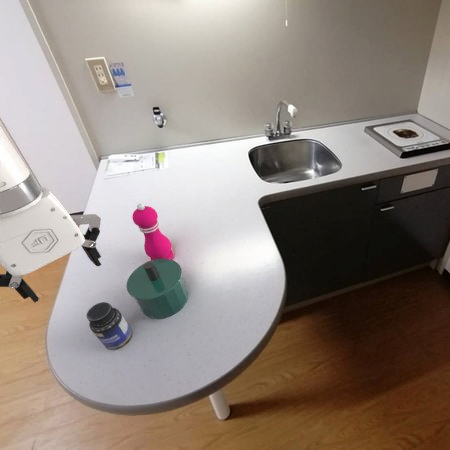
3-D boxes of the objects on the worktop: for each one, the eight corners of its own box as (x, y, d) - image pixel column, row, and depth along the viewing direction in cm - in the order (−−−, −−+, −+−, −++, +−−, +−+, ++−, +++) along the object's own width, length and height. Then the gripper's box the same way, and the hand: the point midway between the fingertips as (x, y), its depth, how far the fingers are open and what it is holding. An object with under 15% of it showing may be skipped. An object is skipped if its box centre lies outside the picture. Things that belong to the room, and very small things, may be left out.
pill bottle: (101, 353, 69) (78, 326, 62) (107, 329, 73) (86, 302, 66) (130, 347, 70) (111, 320, 63) (135, 324, 74) (117, 296, 67)
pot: (157, 327, 74) (145, 307, 68) (133, 302, 79) (120, 281, 74) (197, 296, 80) (189, 275, 75) (172, 275, 86) (163, 254, 81)
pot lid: (145, 311, 68) (136, 296, 64) (118, 283, 74) (108, 267, 71) (193, 277, 75) (187, 261, 72) (164, 254, 82) (158, 238, 78)
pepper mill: (180, 255, 92) (160, 201, 79) (160, 270, 88) (136, 216, 75) (164, 246, 95) (143, 193, 82) (144, 260, 91) (118, 206, 78)
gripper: (-80, 239, 34) (13, 326, 45) (84, 176, 44) (127, 259, 55) (-91, 214, 38) (-3, 300, 48) (63, 161, 48) (107, 242, 59)
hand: (66, 278), depth 52 cm, fingers open, 9 cm apart
